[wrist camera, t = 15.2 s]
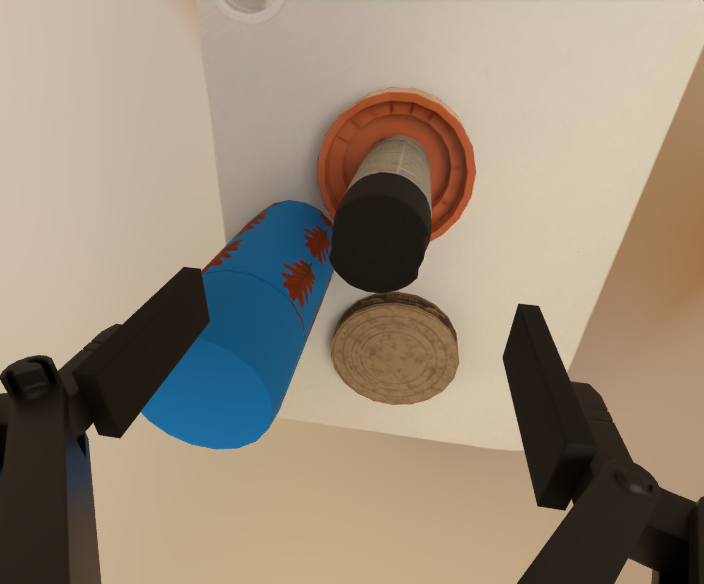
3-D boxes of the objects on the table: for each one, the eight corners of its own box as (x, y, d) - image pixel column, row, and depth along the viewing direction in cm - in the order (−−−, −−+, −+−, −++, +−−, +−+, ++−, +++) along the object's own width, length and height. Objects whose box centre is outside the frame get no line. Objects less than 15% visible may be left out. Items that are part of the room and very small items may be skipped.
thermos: (303, 180, 45) (196, 304, 24) (358, 257, 48) (307, 424, 27) (233, 229, 49) (88, 370, 28) (288, 296, 53) (197, 465, 32)
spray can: (358, 191, 44) (316, 284, 27) (371, 124, 40) (332, 183, 23) (419, 205, 44) (417, 308, 27) (438, 139, 40) (448, 210, 23)
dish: (329, 82, 39) (317, 87, 35) (483, 91, 38) (490, 98, 34) (327, 224, 47) (317, 242, 43) (456, 236, 45) (459, 256, 41)
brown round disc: (478, 315, 50) (481, 330, 48) (429, 402, 59) (430, 418, 56) (354, 275, 50) (350, 287, 47) (322, 368, 58) (318, 382, 56)
